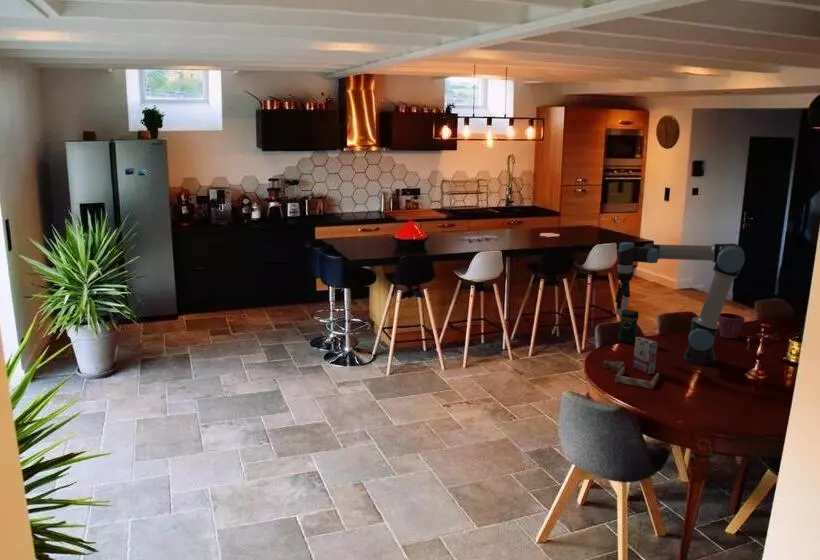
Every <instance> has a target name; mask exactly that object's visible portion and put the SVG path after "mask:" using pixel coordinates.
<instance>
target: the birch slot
mask: <svg viewBox="0 0 820 560" xmlns="http://www.w3.org/2000/svg"><path fill="white" fill-rule="evenodd" d="M625 373H626V367H625V366H624V367H622V368H621V369H620V371H619V372H616V374H615V376H614V382H615V383H621V384H625V385H630V386H636V387H641V388H646V389H650V390H653V389H654V388H655V386H656V385H657V382H658V381H659V380H660V373H659V372H655V375H654V376H653V378H652V379H651V381H650V380H644V379H638V378H633V377H628V376H624V375H625Z"/></svg>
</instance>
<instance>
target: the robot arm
mask: <svg viewBox="0 0 820 560" xmlns="http://www.w3.org/2000/svg"><path fill="white" fill-rule="evenodd" d="M617 252H618V253H617V254H618V255H617V257H618V258H617V265H616V268H617V273H616V279H617V280H618V281H619V282H618V286H617V292H616V298H615V301H614V303H616V307H615V308H616V309H615V315H617V316H620V315H622V310H624V309H627V310H629V299H630V297H631V288H630V281H632V280H633V272H634V271H633V270H634V262H636V263H644V264H645V263H646V264H647V263H648V264H656V263H658V261H659V260H684V261H685V260H686V261H711V262H713V263H714V266H713V271H714V275H713V278H712V281H711V284H710V286H709V290H708V291H707V295H706V298H705V300H704V302H703V304H702V305H703V306H702V309H701V311H700V314H699V316H693V318H692V319H691V327H690V331H689V334H688V337H687V339H688V343H689V345H688V346H687V349H686V350H685V353H684V355H683V359H684V360H685V361H687V362H689V363H692V364H695V365H703V366H704V365H705V366H709V365H714V364H715V363H716V359H717V358H716V355H715V349H714V345H715V339H716V335H717V333H718V330H719V324H718V319H719V316H720V313H722V310H723V308H724V305H725V302H726V299H727V297H728V295H729V291H730V289H731V286H732V284H733V282H734V279H736V278H738V277H739V274H740V272H741V269H742V268H743V266H744V264H745V261H746V258H745V251H744V249H743V248H742V247H741V246H740V245H738V244H736V243H731V242H730V243H714V244H712V245H693V244H692V245H689V244H686V245H685V244H654V243H647V244H645V245H643V247H640V246H635V243H634V242H628V241H626V242H625V241H624V242H623V241H622V242H621V243H619V245H618V251H617Z"/></svg>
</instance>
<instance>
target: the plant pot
mask: <svg viewBox="0 0 820 560" xmlns="http://www.w3.org/2000/svg"><path fill="white" fill-rule="evenodd" d="M717 323H718V327H719V328H718V330H719V336H720V337H721V336H722V337H721V338H723V337H725V338H724V339H727V338H736V339H738V336H739V334H740V331H741V328H742V327H743V326H742V325H744V324H745V316H742V315H741V314H738V313H737V314H736V313H729V312H728V313H727V312H721V313H720V316H719V319H718V321H717Z"/></svg>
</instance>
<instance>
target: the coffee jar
mask: <svg viewBox="0 0 820 560" xmlns="http://www.w3.org/2000/svg"><path fill="white" fill-rule="evenodd" d="M619 316H620V327H619V332H618V333H619V334H618V342H621V343H625V344H630V343H632V344H635V338H636V337H638V336H637V335H638V334H637V325H638V324H637V323H638V320H639V318H640V317H639V311H637V310H633V309H622V315H619Z"/></svg>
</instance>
